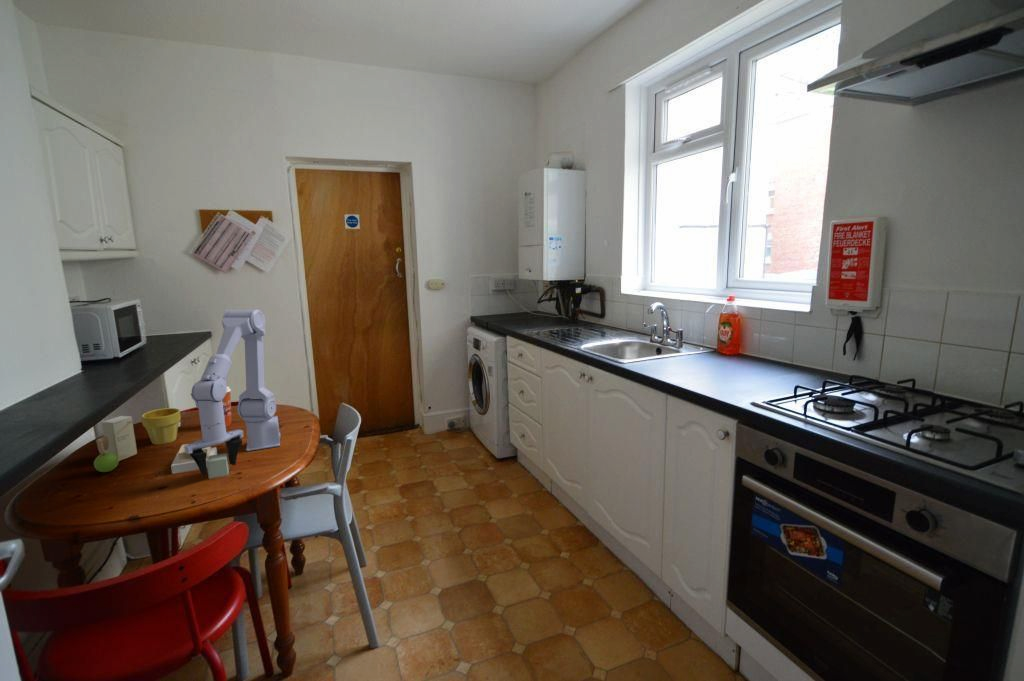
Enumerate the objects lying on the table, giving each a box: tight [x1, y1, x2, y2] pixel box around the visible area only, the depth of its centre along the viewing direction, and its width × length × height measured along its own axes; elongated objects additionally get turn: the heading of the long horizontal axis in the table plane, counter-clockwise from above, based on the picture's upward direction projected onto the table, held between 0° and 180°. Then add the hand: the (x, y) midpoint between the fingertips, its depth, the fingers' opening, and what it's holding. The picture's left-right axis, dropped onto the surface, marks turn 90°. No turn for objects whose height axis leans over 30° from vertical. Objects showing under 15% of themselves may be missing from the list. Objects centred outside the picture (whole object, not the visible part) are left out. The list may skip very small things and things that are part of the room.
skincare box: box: [100, 415, 138, 462], centre depth 148 cm, size 6×4×12 cm
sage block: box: [207, 452, 230, 480], centre depth 136 cm, size 4×4×5 cm
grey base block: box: [170, 446, 218, 475], centre depth 143 cm, size 10×10×3 cm
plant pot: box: [141, 407, 182, 445], centre depth 161 cm, size 10×10×10 cm
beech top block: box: [177, 443, 212, 463], centre depth 142 cm, size 7×7×3 cm
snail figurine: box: [93, 434, 120, 473], centre depth 138 cm, size 5×6×12 cm
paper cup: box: [222, 385, 233, 428], centre depth 174 cm, size 8×8×14 cm
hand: (218, 469), depth 136 cm, fingers open, 7 cm apart
